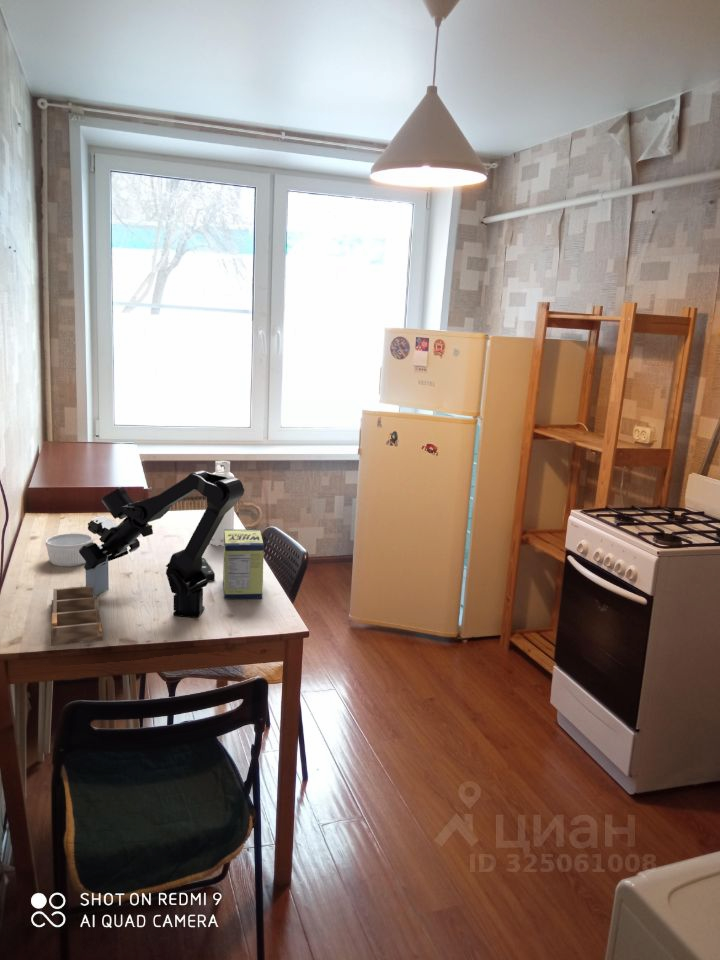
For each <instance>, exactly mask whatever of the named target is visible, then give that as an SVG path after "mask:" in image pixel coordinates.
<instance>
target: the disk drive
mask: <svg viewBox="0 0 720 960" xmlns="http://www.w3.org/2000/svg"><path fill="white" fill-rule="evenodd" d="M201 570H202V571H203V573H204V574H205V575H206V577H207V578H208V582H210V581H211V582H212V581H216V580H215V579H216V578H215V577H216V576H215V572H214V570H213V569H212V567H211V566H210V564H209V562H208V561H207V560H206V559H205V558H204V557H202V567H201ZM189 582H190V581H189ZM187 583H188V582H187Z"/></svg>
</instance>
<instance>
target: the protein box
mask: <svg viewBox="0 0 720 960" xmlns="http://www.w3.org/2000/svg"><path fill="white" fill-rule="evenodd" d="M223 541H224V546H223V569H222V570H223V571H222V574H223V580H222V581H223V597H224V600H244V599H245V600H246V599H247V600H248V599H250V600H251V599H263V585H264V553H265V550H264V549H265V545H264V541H263V536H262V533H261V529H234V530H226V529H224V540H223Z"/></svg>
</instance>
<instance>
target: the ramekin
mask: <svg viewBox="0 0 720 960" xmlns="http://www.w3.org/2000/svg"><path fill="white" fill-rule="evenodd" d="M93 538H94V537H93V536H91V535H90V534H87V533H80V532H79V533H78V532H69V533H61V534H55V535H52V536H50V537H48V538H47V539H46V540H45V546H46V549H47V556H48V561H50V563H51V564H53V565H54V566H56V567H75V566H81V565H85V560H84V558H83V557H82V556H81V554H80V553H79V550H80V549H81V548H82V547H83V546H84V545H87V544H89V543H94V539H93Z"/></svg>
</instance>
